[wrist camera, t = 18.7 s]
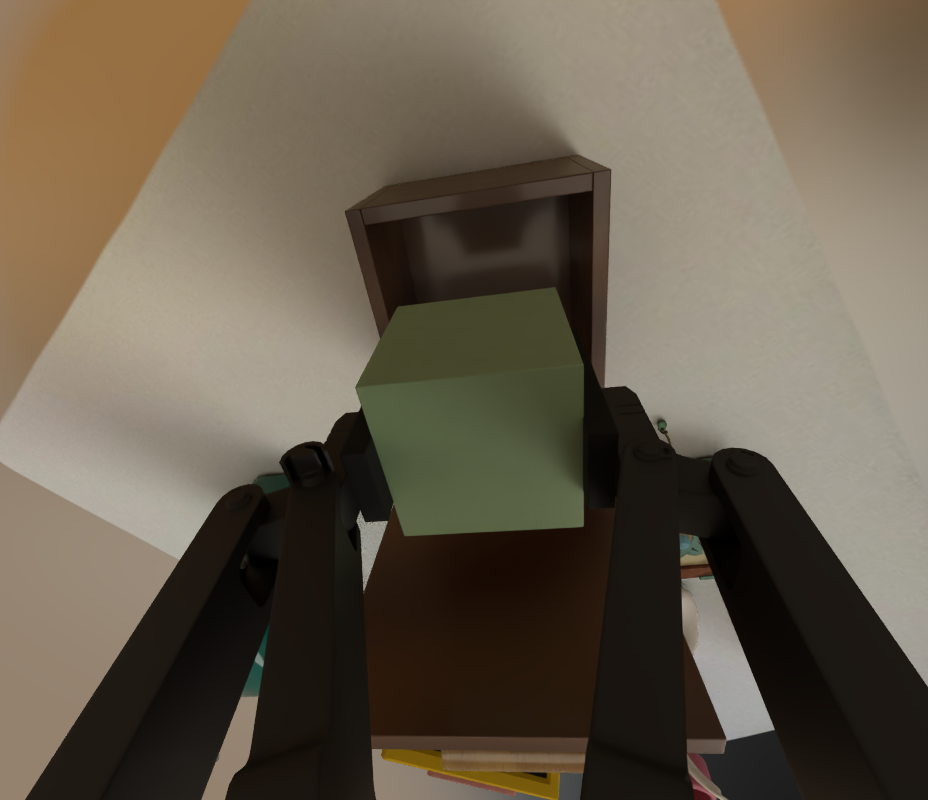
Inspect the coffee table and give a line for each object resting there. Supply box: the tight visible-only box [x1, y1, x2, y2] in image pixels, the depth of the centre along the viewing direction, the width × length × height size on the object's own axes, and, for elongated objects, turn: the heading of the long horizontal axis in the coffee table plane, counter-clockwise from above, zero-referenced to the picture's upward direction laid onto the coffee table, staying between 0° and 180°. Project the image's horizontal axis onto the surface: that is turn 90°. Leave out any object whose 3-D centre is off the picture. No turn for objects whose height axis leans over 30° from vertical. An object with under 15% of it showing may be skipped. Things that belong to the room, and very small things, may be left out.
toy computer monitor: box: [381, 749, 560, 800], centre depth 51 cm, size 20×8×16 cm, turn 65°
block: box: [355, 287, 584, 536], centre depth 15 cm, size 6×6×6 cm
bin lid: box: [364, 496, 726, 773], centre depth 22 cm, size 16×13×6 cm
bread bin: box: [345, 155, 611, 388], centre depth 28 cm, size 16×13×9 cm
